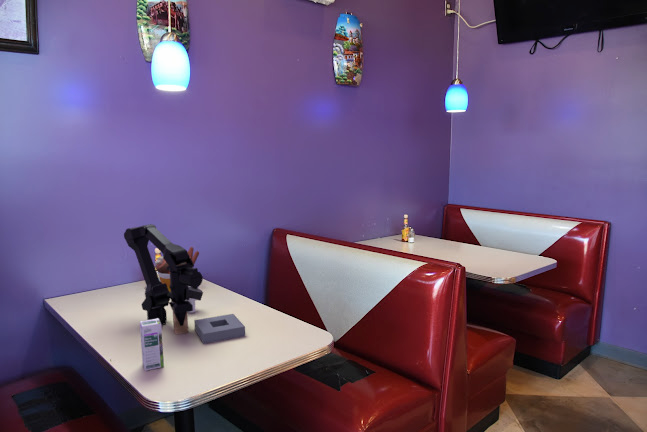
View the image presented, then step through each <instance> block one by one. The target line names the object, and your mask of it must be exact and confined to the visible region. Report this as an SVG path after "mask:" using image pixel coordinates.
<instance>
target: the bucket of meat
mask: <svg viewBox="0 0 647 432" xmlns="http://www.w3.org/2000/svg"><path fill="white" fill-rule="evenodd" d="M187 252H188V254H189V256H190V258H191V260H192V261H193V264H194V265H195V263H196V262H197V260H198V257H199V255H200V251H199V250H197V251H195V252H194V247H193V246H190V247H189V250H188V251H187ZM184 264H187V263H184ZM180 265H183V264H180ZM168 266H169V265H168V264H167V263H166V261H165V260H164V259H163V255H162V256H159V257H157V260H155V270H156V272H157V275H158V278H159V281H160V282H161V283H163V284H164V283H166V284H167V288H168V290H169V292H171V289H170V271H169V270H166V268H167V267H168ZM177 266H179V265H177ZM192 268H194V267H192Z"/></svg>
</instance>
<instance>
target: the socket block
mask: <svg viewBox="0 0 647 432" xmlns="http://www.w3.org/2000/svg"><path fill="white" fill-rule="evenodd" d="M240 320H241V319H239V318H238V317H237V316H236V315H235V314H234V313H230V314H224V315H218V316H211V317H206V318H200V319H194V330H195V332H196V334H197V335H198V336H199V338H200V340H201V342H202V343H203V344H210V343H214V342H215V343H216V342H221V341H225V340H226V341H227V340H231V339H236V338H241V337H245V336H246V326H245V325H244V324H243V322H242V321H240Z"/></svg>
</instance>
